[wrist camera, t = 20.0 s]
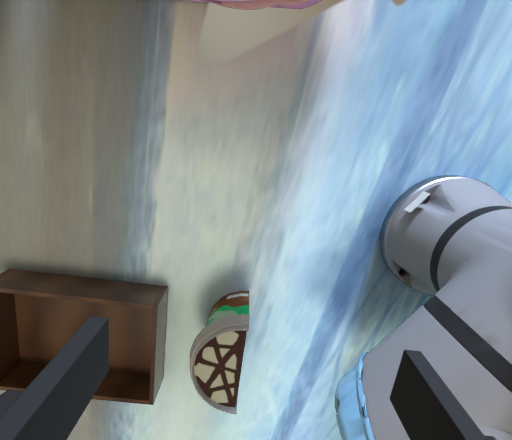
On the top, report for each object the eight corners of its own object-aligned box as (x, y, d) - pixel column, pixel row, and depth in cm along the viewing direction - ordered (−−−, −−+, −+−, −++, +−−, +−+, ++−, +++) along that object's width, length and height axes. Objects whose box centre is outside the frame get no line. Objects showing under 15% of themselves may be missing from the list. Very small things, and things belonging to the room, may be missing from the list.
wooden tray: (168, 286, 42) (157, 305, 38) (163, 377, 46) (153, 405, 42) (9, 268, 42) (-22, 285, 37) (18, 363, 46) (-9, 389, 41)
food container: (205, 276, 42) (190, 318, 32) (250, 281, 42) (249, 325, 33) (197, 352, 45) (182, 412, 36) (239, 357, 46) (235, 418, 36)
